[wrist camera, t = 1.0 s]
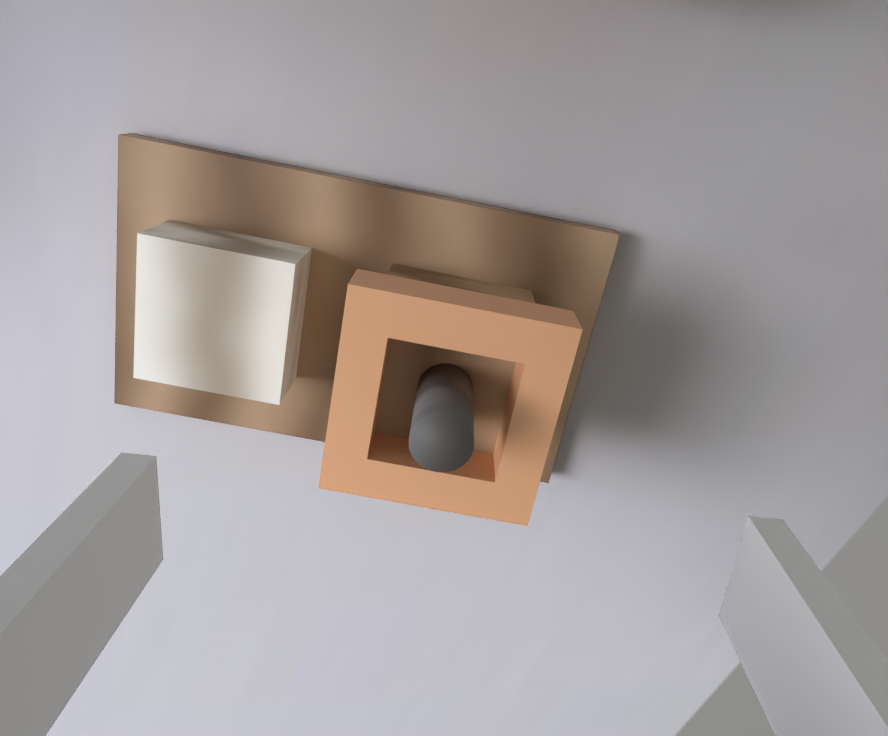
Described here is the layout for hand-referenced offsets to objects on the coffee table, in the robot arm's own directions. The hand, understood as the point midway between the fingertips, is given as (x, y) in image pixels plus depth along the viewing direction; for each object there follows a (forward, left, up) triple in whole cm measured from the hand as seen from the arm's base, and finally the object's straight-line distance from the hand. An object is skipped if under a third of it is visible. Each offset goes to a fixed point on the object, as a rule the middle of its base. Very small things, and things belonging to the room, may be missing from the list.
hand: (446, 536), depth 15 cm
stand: (-5, -3, -22) cm, 22 cm away
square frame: (0, -3, -14) cm, 15 cm away
